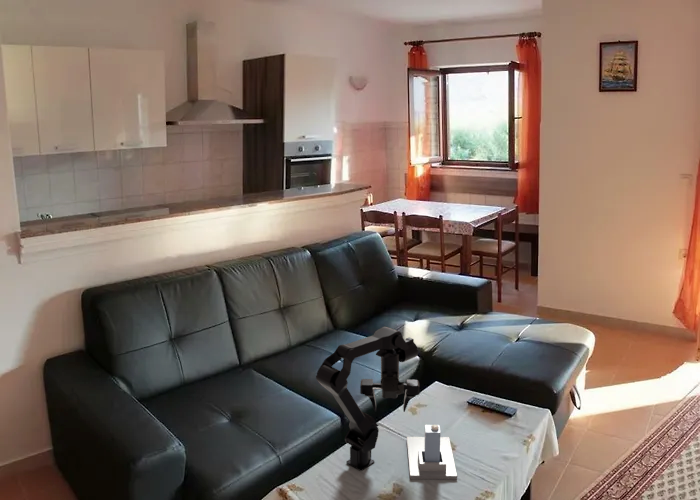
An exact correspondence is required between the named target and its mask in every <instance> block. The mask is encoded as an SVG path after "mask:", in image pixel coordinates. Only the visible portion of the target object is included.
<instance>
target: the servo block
mask: <svg viewBox="0 0 700 500" xmlns="http://www.w3.org/2000/svg"><path fill="white" fill-rule="evenodd" d="M424 437H425V450H424V462H440V437H441V427H440V424H425V425H424Z"/></svg>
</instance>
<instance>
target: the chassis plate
mask: <svg viewBox="0 0 700 500" xmlns="http://www.w3.org/2000/svg"><path fill="white" fill-rule="evenodd" d="M406 445H407V446H406V447H407V459H408V469H409V478H410V480H458V474H457V470H456V464H455V459H454V455H453V450H452V445H451V441H450V437H449V436H440V462H424V450H425V436H406Z"/></svg>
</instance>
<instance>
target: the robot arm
mask: <svg viewBox="0 0 700 500" xmlns="http://www.w3.org/2000/svg"><path fill="white" fill-rule="evenodd" d="M374 352H376V353H375V355H376V356H377V357H380V382H374V379H373V378H362V379H361V380H360V389H359V393H360V394H361V395H363V396H364V397H368V398H369V400H370V402H371V405H372V408H373V410H374V412H377V401H376V400H377V399H376V394H375V390H381V397H382V398H383V399H398V396H399V395H402V394H404V398H403V407H402V409H403V412H404V413H405V412H406V409H407V407H408V404H409V402H410V400H411V399H412V398H415V397H416V396H419V395H420V393H421V392H420V391H421V390H420V388H421V387H420V381H419V380H418V379H406V383H404V382H403V381H400V363H405V362H408V361H410V360H412V359H414V358H417V356H418V355H419V349H418V346H417V344H416V343H415V341H414V338H411V337H407V338H403V335H402V332H401V331H400V330H398V329H394V328H391V327H388V326H382V327H381V328H379V329H377V330H375V331H374V333H373V334H372V335H369V336H367V337H363V338H360V339H358V340H354V341H352V342H348V343H346V344H344V343H343V344H340V345H338V346H337V348H336V349H335V351H334V352H332V353H331V354H330V355H329V356H328V357H327V356H326V357H325V359H324V360H323V362H322V364H320V367H319V368H318V370H317V372H316V376H315V379H316V381H317V382H318V383H319V384H320V385H321V386H322V388H324V389H325V390H327V392H330V393H331V395H332V396H333V397H334V400H335V401H336V402H337V403H338V405H339V406H340V409H342V412H343V413H344V414H345V416H346V418H348V420H349V425H348V427H349V430H348V431H347V432H346V434H345V436H344V441H345V443H346V444H348V445H350V447H349V459H348V460H346V464H347V465H349V466H351V467H353V468H354V469H357V470H359V471H363V470H366V469H367V468H368V467H370V466H372V465H373V464H375V459H372V450H373V449H375V448H376V444H377V441H378V437H379V431H380V430H379V424H377V422H376V420H375V418H374V417H373V416H372V415H369V414H367V413H366V412H363V411H362V410H361V408H360V407H359V405H358V403H357V402H356V400H355V398H354V397H353V396H352V394H351V392H350V391H349V389H348V380H347V379H348V378H349V376H350V375H351V370H352V363H353V362H354V360H355V359H357V358H360V357H362V356H366V355H368V354H371V353H374ZM342 359H343V363H342V368H341V369H337V368H335V367H333V366H335V364H337V363H338V362H340V361H341V360H342Z"/></svg>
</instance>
